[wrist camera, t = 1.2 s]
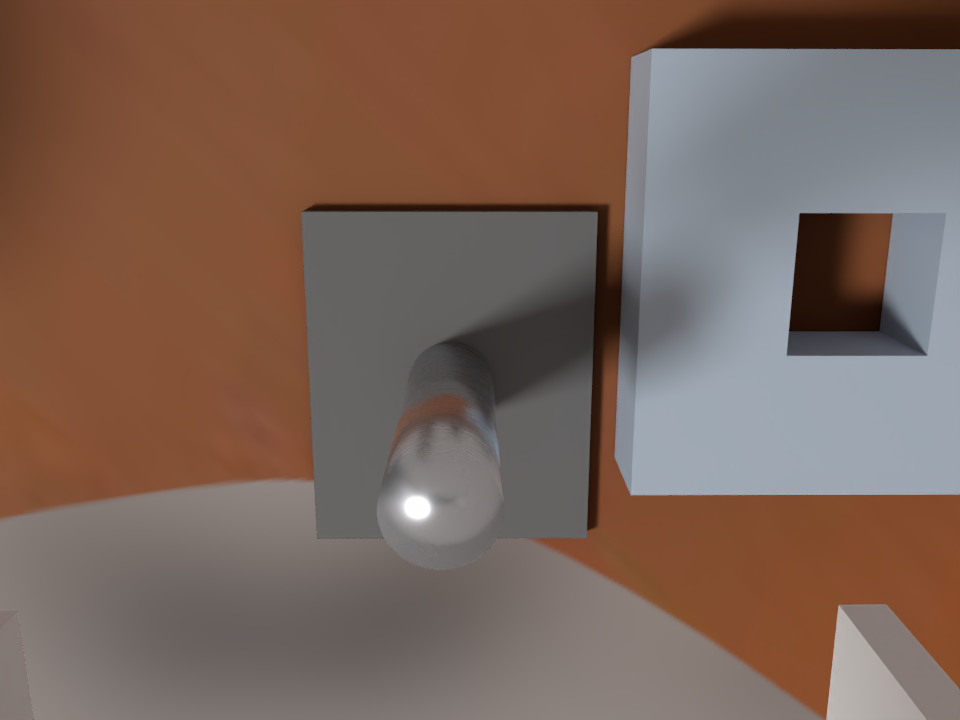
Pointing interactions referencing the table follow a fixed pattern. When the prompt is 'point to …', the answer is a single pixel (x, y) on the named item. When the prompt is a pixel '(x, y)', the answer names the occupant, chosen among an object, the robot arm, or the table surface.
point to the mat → (452, 318)
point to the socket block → (787, 273)
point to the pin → (444, 462)
